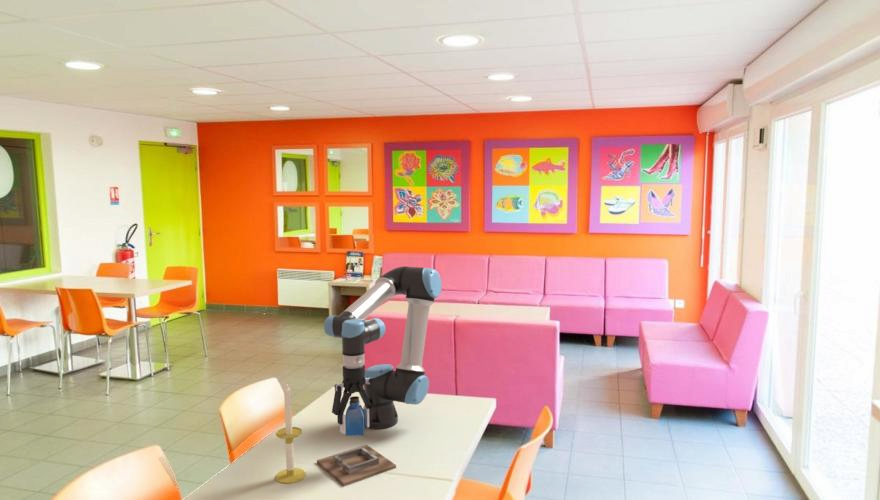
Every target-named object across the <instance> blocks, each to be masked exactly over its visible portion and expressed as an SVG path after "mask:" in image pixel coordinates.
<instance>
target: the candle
mask: <svg viewBox="0 0 880 500" xmlns="http://www.w3.org/2000/svg"><path fill="white" fill-rule="evenodd" d="M291 390H292V389H291V388H290V387H289V384H288V383H286V385H285V389H284V390H283V395H284V396H283V397H284V399H283V401H284V421H285V422H284V423H285V425H284V427H283V428H280V429H278V430H277V431H276V432H275V436H276V437H277V438H278V439H282V440H283V439H284V440H285V462H286V464H285V465H286V467H285V468H284V469H282V470H280V471H278V472H276V474H275V477H274V479H275V481H276V480H277V481H278V483H280V484H285V483H289V484H294V483H298V482H300V481H302V480H304V479H305V477H306V476H307V475H306V474H307V472H306V471H305V470H304V469H302V468H298V467H295V460H294V459H295V454H294V438H297V437H299V436H301V435H302V433H303V429H301V428H300V427H296V426H293V421H292V420H293V417H292V395H291V394H292V393H291V392H292V391H291ZM277 481H276V482H277Z"/></svg>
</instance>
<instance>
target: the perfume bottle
mask: <svg viewBox="0 0 880 500" xmlns="http://www.w3.org/2000/svg"><path fill="white" fill-rule="evenodd" d="M348 403H349V405H348V407H347V409H346V410H345V414H344V415H345V424H346V434H344V436H346V437H348V436H350V437H351V436H355V437H356V436H364V435H365V434H364V433H365V426H364V410H363V406H362V405H361V404H360V403H361V402H360V397H359V396H355V395H353V396H350V397H349V400H348Z"/></svg>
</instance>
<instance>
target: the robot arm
mask: <svg viewBox="0 0 880 500" xmlns="http://www.w3.org/2000/svg"><path fill="white" fill-rule="evenodd" d="M440 275H441V274H440V273H439V271H437V270H436V269H434V268H429V267H418V266H417V267H415V266H399V267H395V268H393V269H390V270H389V271H387V272H385V273H384V274H382V275H380V276H379V277H378V278H377V279H376V281H375V282H374V285H373V286H372V287H370V288H369V289H368V290H366V292H364V293H363V294H362V295H361V296H360V297H359V298H358V299H356V300H355V301H354V302H353V303H352V304H350V305H349V306H348V307H347V308H346V309H345V310H343V311H342V312H341V313H340V314H338V315H329V316H328V317H326V318H325V321H324V323H323V329H324V330H323V331H324V333H325V334H326V335H327V336H328V337H329V336H330V337H334V338H338V339H341V342H342V344H341V345H342V346H341V347H342V356H341V357H342V365H343V366H342V382H341V383H339V384H337V383H336V384H334V397H333V403H332V408H331V413H332V414H333V415H335V416H337V424H338V425H339V432H340V433H341V434H343V435H345V434H346V424H345V415H346V414H344V413H345V412H346V408H347V406H348V403H349V401H350V397H352V395H353V394H355V393H358V394H359V396H360V398H361V400H362V402H363V404H364V405H363V406H362V408H363V410H364V428H368V429H375V430H379V429H380V430H381V429H387V428H391V427H393V426H396V424H398V421H399V416H398V412H397V409H396V406H395V404H394V402H398V403H403V404H406V405H419V404H421V403H422V402H423V401H424V400H425V398H426V396H427V395H428V392H429V387H430V381H429V377H428V376H426V375H425V373H426V370H425V368H424V367H423V360H424V353H425V344H426V337H427V329H428V323H429V322H428V321H429V316H430V314H429V313H430V308H431V307H430V306H432V305H433V304H434V303H435V299H437V298H439V297H440V294H441V293H442V288H443V287H442V286H443V285H442V284H443V283H442V279H441V276H440ZM397 295H404V296H405V300H406V302H407V303H408V308H407V313H406V320H405V326H404V327H405V329H404V336H403V343H402V350H401V356H400V357H401V358H400V363H399V364H398V365H397V366H396V367H395V370H394V366H393V365H392V364H389V363H388V364H386V363H383V364H375V365H372V366H368V367H367V368H366V366H365V364H366V360H365V357H366V353H365V351H366V350H365V345H367V344H370V343H373V342H375V341H378V340H379V339H381V338H382V337H383V336H385V334H386V325H385V323H384V321H382V320H381V319H380V318H378V317H375V318H370V319H367V318H368V317H369V316H370V315H371V314H372V313H374V312H375V311H376V310H377V308H379V307H380V306H381V305H383V303H384V302H386V301H387V300H389V299H392V298H394V297H395V296H397ZM343 389H344V390H343Z"/></svg>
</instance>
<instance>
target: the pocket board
mask: <svg viewBox="0 0 880 500" xmlns="http://www.w3.org/2000/svg"><path fill="white" fill-rule="evenodd" d="M316 464H317V465H319V467H321V468H322V469H323V470H324V471H326V473H328V474H329V476H331V477H333V478H334V479H335V480H336V481H337V482H339V483H340V485H342V486H343V487H346V486H349V485H352V484H355V483H357V482H360V481H363V480H365V479H369V478H371V477H374V476H377V475H380V474H383V473H385V472H388V471H391V470H394V469H397V464H396V463H394V462H393V461H391V460H390V459H388V458H386V457H385V456H384V455H382V454H381V453H379V452H378V451H376V449H373V448H372V447H370V445H368V444H364V445H363V444H362V445H361V446H358V447H355V448H350V449H347V450H345V451H342V452H339V453H336V454H331V455H329V456H326V457H323V458H320V459H316Z"/></svg>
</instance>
